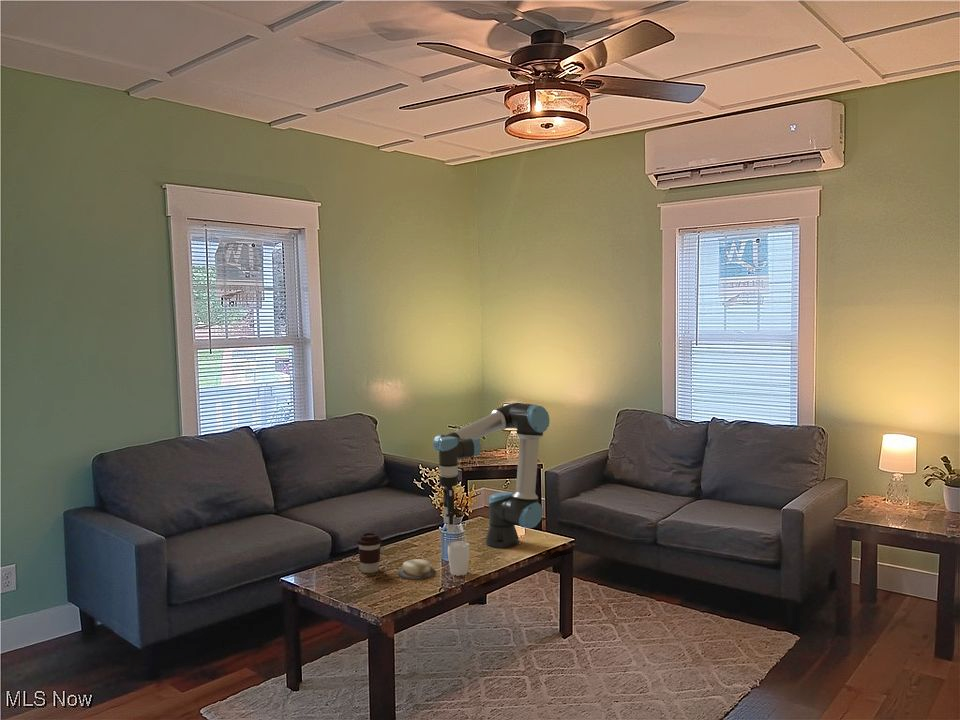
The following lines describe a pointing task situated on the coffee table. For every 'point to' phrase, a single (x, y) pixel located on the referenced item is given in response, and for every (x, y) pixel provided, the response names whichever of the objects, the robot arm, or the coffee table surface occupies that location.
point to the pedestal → (416, 569)
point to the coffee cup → (369, 552)
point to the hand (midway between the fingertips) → (449, 527)
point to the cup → (458, 557)
